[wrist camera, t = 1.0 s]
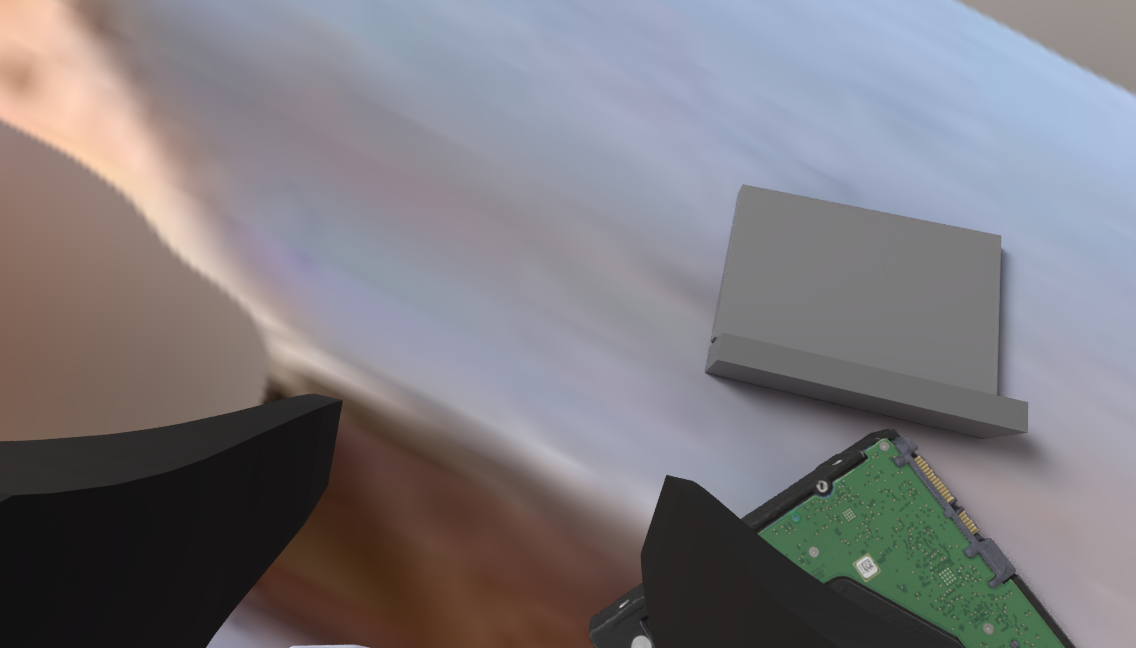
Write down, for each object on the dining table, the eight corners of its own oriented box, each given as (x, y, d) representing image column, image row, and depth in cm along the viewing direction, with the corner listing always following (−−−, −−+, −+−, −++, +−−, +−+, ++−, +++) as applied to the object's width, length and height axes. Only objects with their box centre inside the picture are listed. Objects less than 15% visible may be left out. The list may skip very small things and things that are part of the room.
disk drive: (736, 891, 19) (1043, 652, 21) (759, 957, 17) (1109, 676, 18) (583, 618, 22) (866, 426, 24) (582, 636, 20) (900, 418, 21)
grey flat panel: (961, 1052, 17) (1020, 1140, 15) (602, 922, 19) (603, 985, 16) (989, 243, 26) (1029, 218, 23) (738, 193, 27) (752, 164, 25)
